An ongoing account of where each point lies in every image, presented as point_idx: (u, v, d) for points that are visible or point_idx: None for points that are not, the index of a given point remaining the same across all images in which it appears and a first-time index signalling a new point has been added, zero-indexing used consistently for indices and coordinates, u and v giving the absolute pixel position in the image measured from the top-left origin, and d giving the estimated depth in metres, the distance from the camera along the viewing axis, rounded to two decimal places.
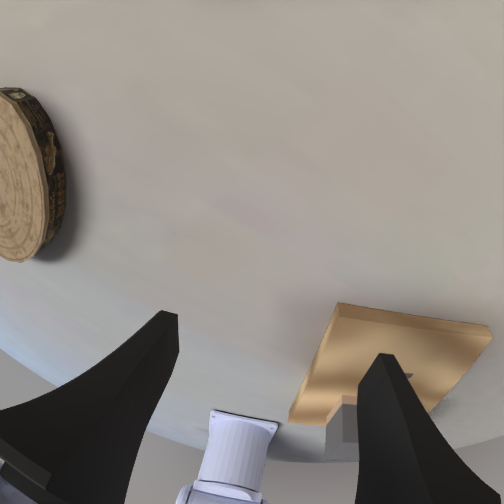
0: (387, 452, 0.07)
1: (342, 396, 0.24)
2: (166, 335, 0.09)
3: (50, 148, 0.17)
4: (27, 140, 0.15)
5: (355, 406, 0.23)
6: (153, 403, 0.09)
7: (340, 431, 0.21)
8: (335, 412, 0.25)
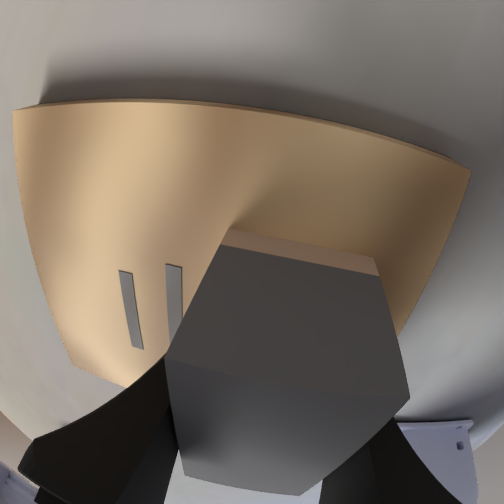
0: None
1: None
2: None
3: None
4: None
5: None
6: None
7: None
8: None
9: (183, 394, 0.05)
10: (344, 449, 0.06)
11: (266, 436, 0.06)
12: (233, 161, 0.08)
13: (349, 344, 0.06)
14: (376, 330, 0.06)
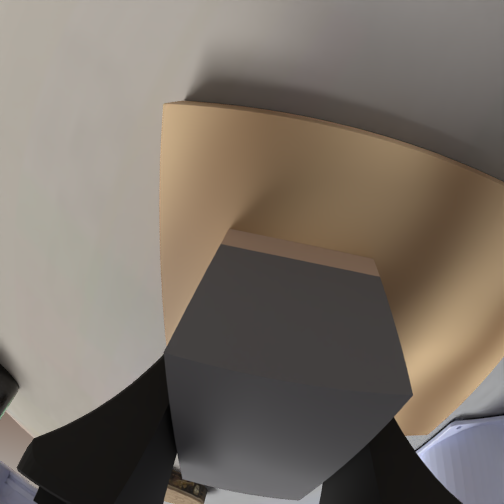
0: None
1: None
2: None
3: None
4: None
5: None
6: None
7: None
8: None
9: (182, 392, 0.05)
10: (345, 450, 0.06)
11: (266, 436, 0.06)
12: (460, 216, 0.08)
13: (350, 342, 0.06)
14: (377, 328, 0.06)
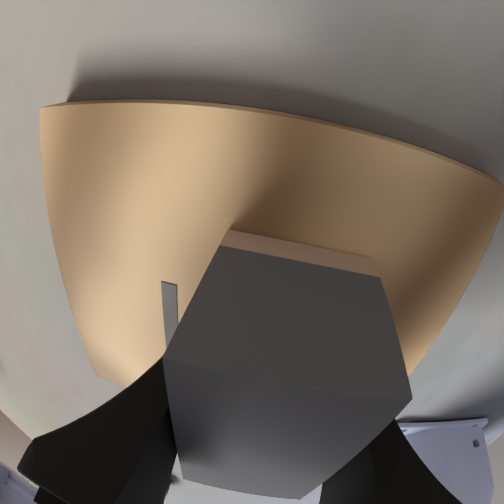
0: None
1: None
2: None
3: None
4: None
5: None
6: None
7: None
8: None
9: (182, 395, 0.05)
10: (345, 452, 0.06)
11: (266, 438, 0.06)
12: (299, 173, 0.08)
13: (350, 344, 0.06)
14: (377, 331, 0.06)
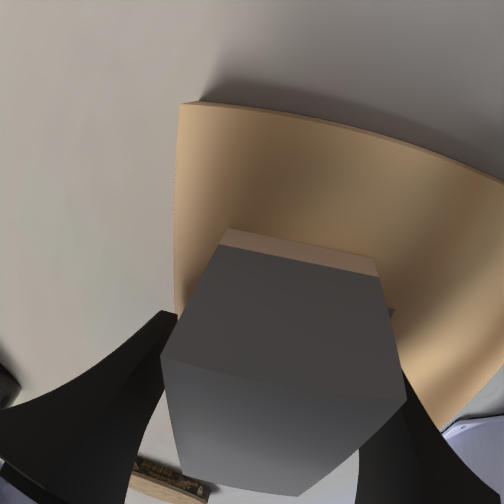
0: (387, 452, 0.07)
1: None
2: (166, 335, 0.09)
3: None
4: None
5: None
6: (153, 403, 0.09)
7: None
8: None
9: (179, 393, 0.05)
10: (341, 450, 0.06)
11: (262, 436, 0.06)
12: (472, 220, 0.08)
13: (346, 345, 0.06)
14: (374, 331, 0.06)
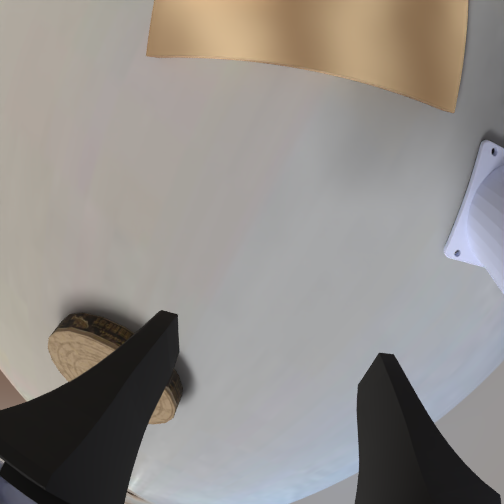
0: (387, 452, 0.07)
1: None
2: (166, 335, 0.09)
3: (77, 320, 0.25)
4: (63, 334, 0.24)
5: None
6: (153, 403, 0.09)
7: None
8: None
9: None
10: None
11: None
12: None
13: None
14: None
